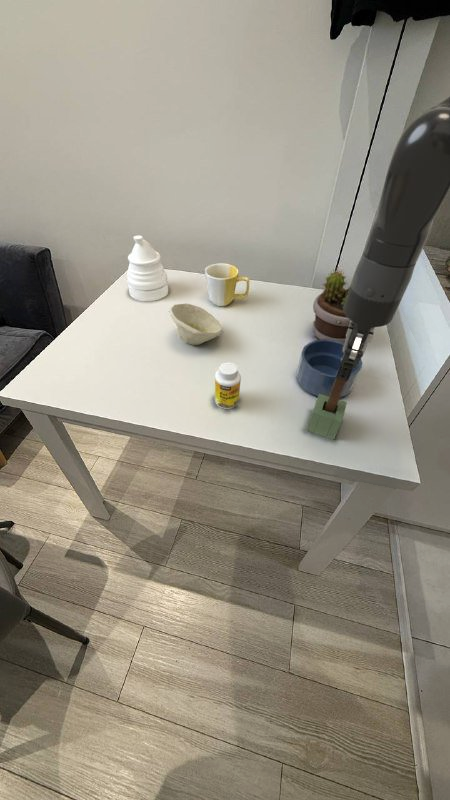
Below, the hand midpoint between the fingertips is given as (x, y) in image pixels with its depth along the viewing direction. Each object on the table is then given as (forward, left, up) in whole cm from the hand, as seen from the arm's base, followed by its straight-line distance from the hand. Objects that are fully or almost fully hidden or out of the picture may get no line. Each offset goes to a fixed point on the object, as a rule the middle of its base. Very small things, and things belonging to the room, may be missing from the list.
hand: (343, 374), depth 61 cm
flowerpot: (+5, -34, -15) cm, 38 cm away
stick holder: (0, 0, -15) cm, 15 cm away
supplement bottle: (+22, +3, -15) cm, 27 cm away
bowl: (+39, -15, -15) cm, 45 cm away
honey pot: (+66, -32, -15) cm, 75 cm away
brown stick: (0, 0, -15) cm, 15 cm away
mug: (+40, -37, -15) cm, 57 cm away
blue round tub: (+3, -14, -15) cm, 21 cm away
